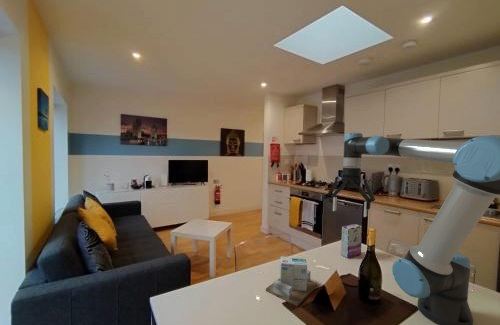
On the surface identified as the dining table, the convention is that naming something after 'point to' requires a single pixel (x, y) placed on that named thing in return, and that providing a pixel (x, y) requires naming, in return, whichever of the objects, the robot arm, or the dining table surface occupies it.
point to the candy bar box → (351, 240)
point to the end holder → (291, 291)
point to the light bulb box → (294, 272)
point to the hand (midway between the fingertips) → (349, 213)
